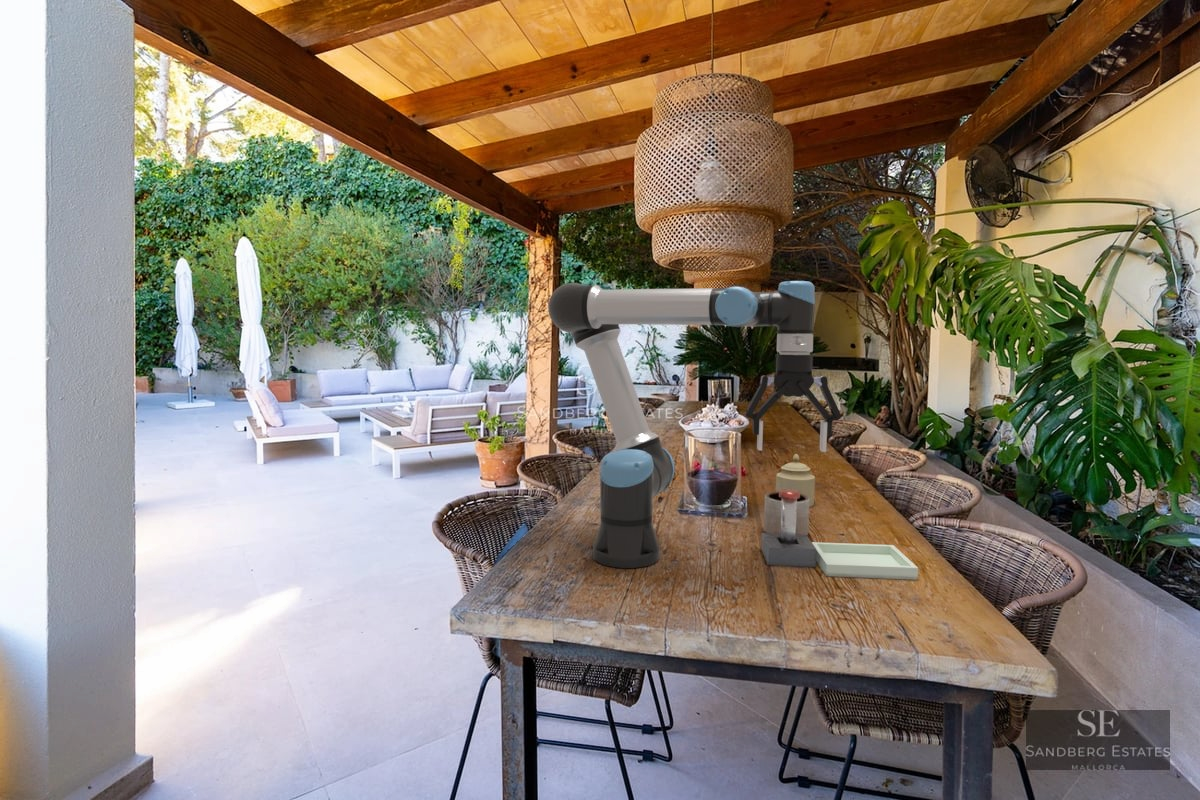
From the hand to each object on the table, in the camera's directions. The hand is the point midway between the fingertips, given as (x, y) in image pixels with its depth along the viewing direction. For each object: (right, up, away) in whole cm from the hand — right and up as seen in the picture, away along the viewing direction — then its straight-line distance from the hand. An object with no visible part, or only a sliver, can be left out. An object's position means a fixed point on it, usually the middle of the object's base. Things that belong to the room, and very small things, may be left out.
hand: (791, 450), depth 136 cm
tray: (+15, -25, -2) cm, 29 cm away
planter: (+5, -23, +20) cm, 31 cm away
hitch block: (0, -24, +2) cm, 24 cm away
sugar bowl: (+16, -20, +50) cm, 56 cm away
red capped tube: (0, -24, +2) cm, 24 cm away
